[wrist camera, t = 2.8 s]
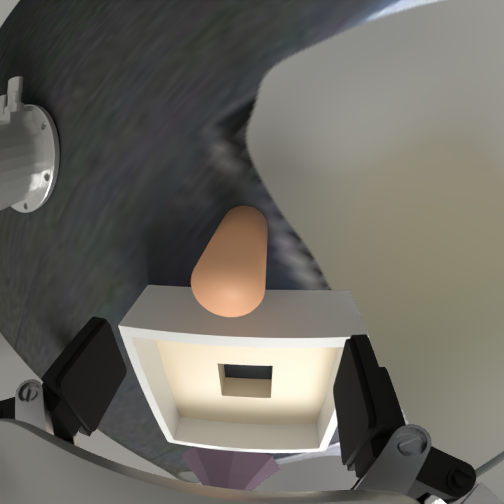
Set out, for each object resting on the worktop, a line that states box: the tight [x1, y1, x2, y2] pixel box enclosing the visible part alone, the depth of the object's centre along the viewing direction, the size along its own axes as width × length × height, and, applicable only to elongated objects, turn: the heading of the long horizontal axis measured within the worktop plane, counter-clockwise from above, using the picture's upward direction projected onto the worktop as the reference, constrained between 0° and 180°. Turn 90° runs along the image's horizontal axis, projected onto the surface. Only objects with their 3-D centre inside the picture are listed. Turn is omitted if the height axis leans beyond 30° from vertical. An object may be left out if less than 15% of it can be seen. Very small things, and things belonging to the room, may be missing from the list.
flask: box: [181, 446, 280, 491], centre depth 30 cm, size 16×16×20 cm
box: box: [118, 285, 369, 453], centre depth 27 cm, size 20×20×7 cm
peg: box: [191, 206, 268, 317], centre depth 19 cm, size 4×4×10 cm
